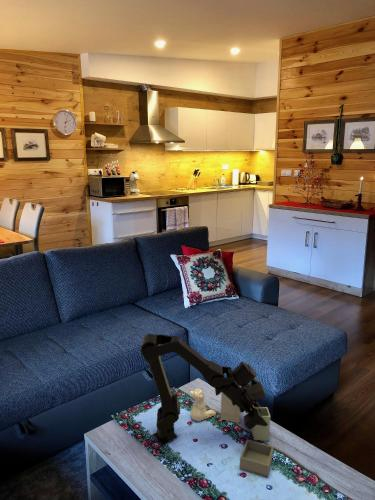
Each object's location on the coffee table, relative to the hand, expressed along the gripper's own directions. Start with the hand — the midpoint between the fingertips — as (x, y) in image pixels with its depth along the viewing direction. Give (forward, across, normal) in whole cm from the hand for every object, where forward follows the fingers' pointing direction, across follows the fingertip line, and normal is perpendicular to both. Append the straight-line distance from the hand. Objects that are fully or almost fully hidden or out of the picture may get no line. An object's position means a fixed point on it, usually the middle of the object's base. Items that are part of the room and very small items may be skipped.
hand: (265, 420), depth 143 cm
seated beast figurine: (-11, +11, +21) cm, 26 cm away
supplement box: (-3, +11, +12) cm, 17 cm away
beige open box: (+4, 0, +6) cm, 7 cm away
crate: (+1, -13, +8) cm, 15 cm away
